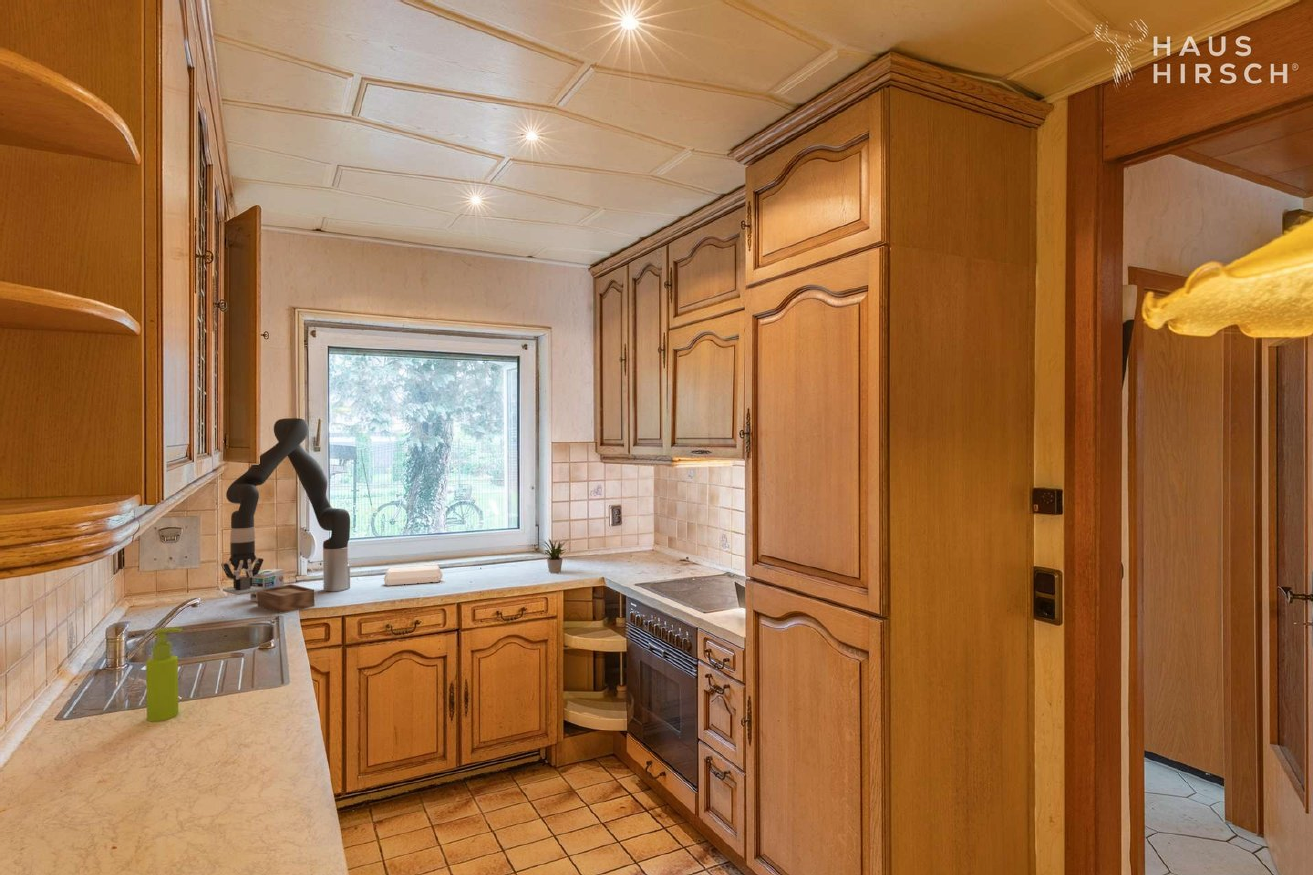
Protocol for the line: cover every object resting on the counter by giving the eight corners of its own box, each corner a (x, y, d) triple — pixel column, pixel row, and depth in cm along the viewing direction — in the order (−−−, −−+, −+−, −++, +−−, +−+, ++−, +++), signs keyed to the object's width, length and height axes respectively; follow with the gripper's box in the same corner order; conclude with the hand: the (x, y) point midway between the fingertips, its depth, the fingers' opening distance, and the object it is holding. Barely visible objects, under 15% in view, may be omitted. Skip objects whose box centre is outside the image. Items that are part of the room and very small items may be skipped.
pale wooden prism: (442, 569, 311) (384, 573, 303) (442, 564, 305) (383, 567, 297) (442, 586, 307) (383, 590, 300) (443, 580, 301) (383, 584, 294)
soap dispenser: (178, 719, 159) (177, 630, 159) (142, 723, 157) (141, 633, 157) (187, 709, 164) (186, 624, 164) (153, 712, 163) (151, 626, 162)
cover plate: (246, 587, 256) (246, 573, 256) (262, 591, 249) (262, 577, 249) (222, 591, 250) (222, 577, 250) (238, 595, 243) (238, 581, 243)
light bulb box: (264, 602, 268) (264, 574, 268) (249, 601, 270) (249, 573, 269) (284, 595, 279) (284, 568, 279) (270, 595, 280) (269, 568, 280)
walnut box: (291, 599, 272) (291, 584, 272) (314, 605, 262) (314, 589, 262) (257, 606, 262) (257, 590, 262) (280, 612, 252) (280, 596, 252)
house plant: (530, 574, 318) (530, 538, 317) (544, 568, 331) (544, 533, 331) (559, 576, 313) (559, 539, 313) (572, 570, 327) (572, 535, 326)
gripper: (258, 537, 257) (258, 584, 257) (216, 541, 246) (216, 591, 246) (268, 538, 253) (268, 586, 253) (226, 543, 242) (226, 593, 242)
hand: (242, 588), depth 250 cm, fingers closed on cover plate, 3 cm apart
